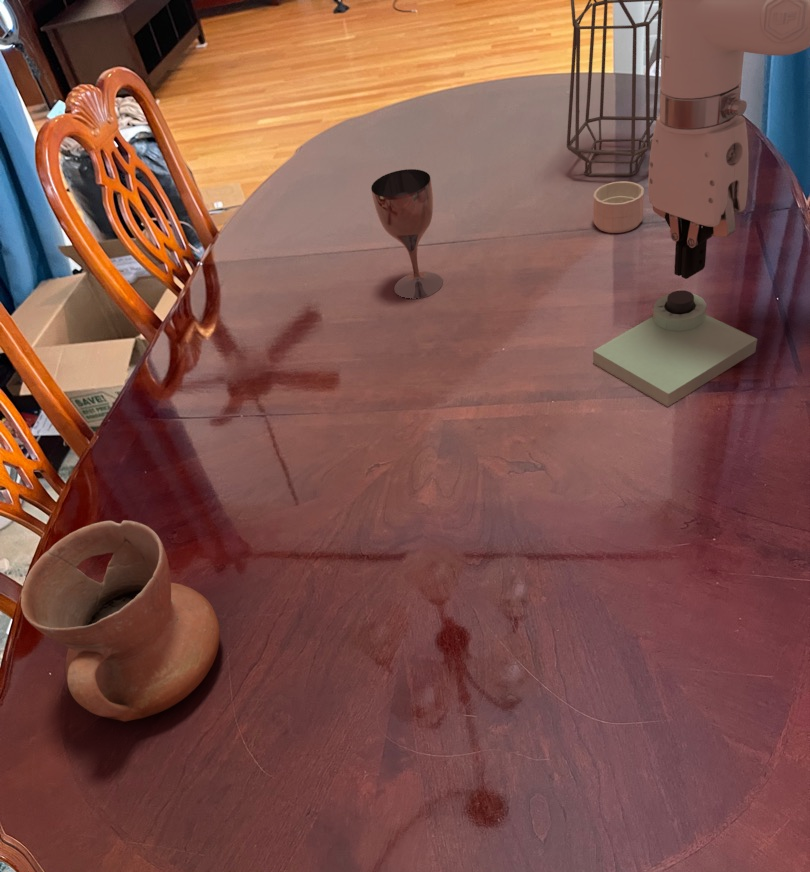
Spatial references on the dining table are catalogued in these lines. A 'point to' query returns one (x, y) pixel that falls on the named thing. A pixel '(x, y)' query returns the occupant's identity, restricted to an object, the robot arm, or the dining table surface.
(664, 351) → the scale
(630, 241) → the dining table surface
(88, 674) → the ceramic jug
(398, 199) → the wine glass
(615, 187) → the bowl
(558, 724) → the dining table surface
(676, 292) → the button
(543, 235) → the dining table surface
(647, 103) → the geometric lantern
